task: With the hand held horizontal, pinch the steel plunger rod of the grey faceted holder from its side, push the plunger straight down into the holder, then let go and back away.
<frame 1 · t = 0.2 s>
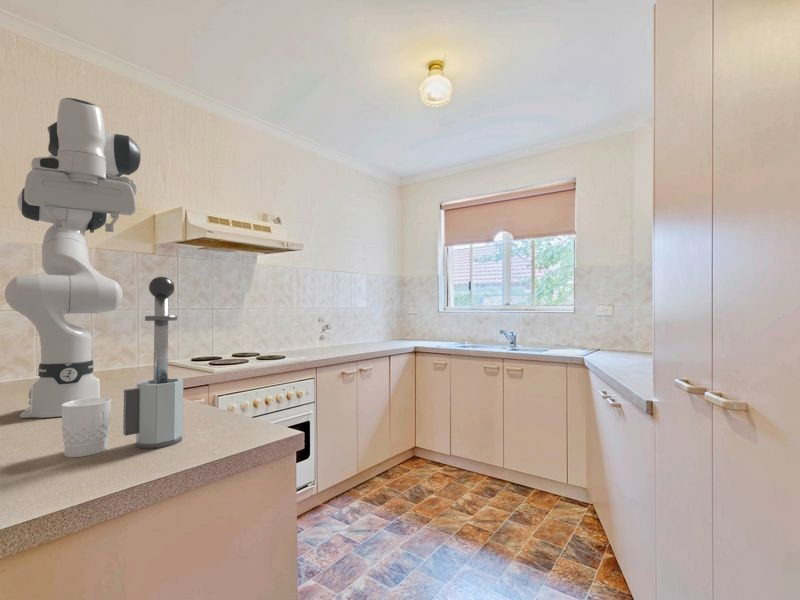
hand: (84, 229, 92), 48 cm above the countertop, tool pointing down, fingers open, 8 cm apart
grey faceted holder: (159, 442, 84), on the countertop
white cup: (86, 452, 79), on the countertop
plunger: (161, 335, 85), point 23 cm above the countertop, slide at 0.0 cm
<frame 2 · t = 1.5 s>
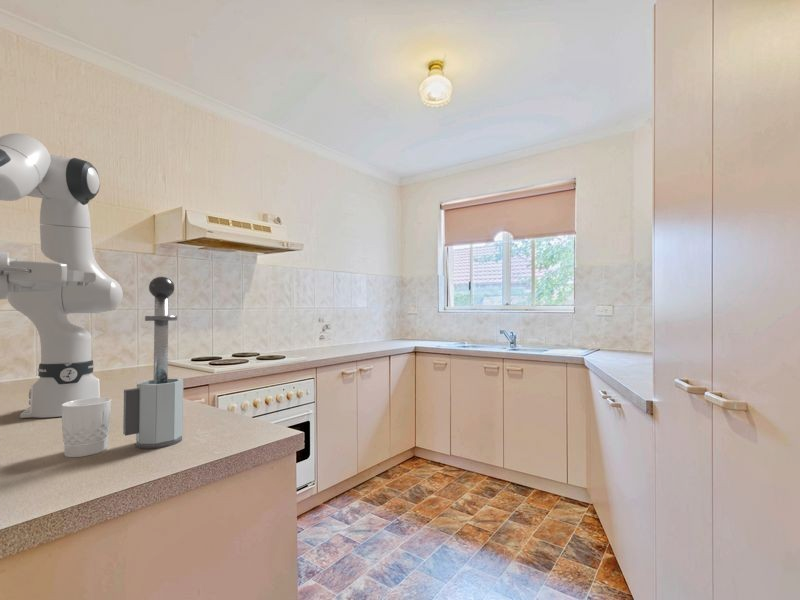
hand: (91, 279, 80), 35 cm above the countertop, tool horizontal, fingers open, 8 cm apart
nothing on the countertop moved.
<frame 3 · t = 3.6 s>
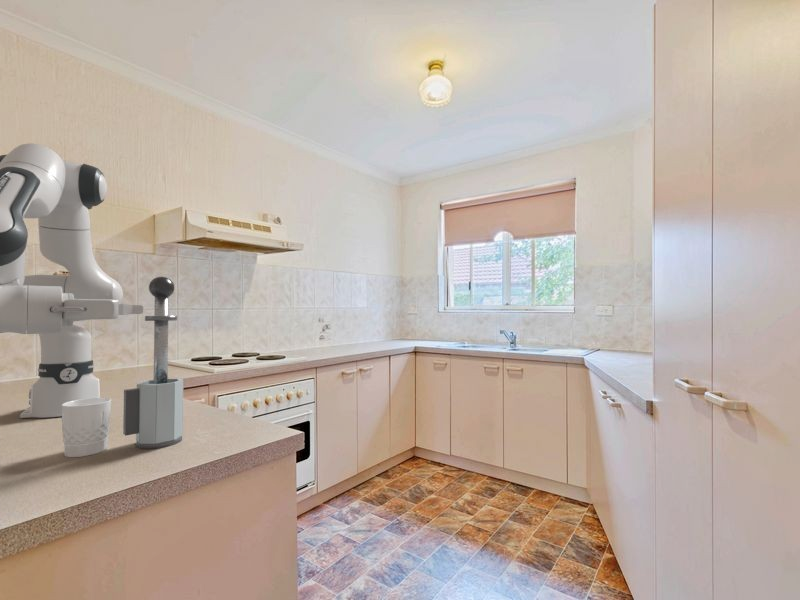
hand: (137, 309, 82), 29 cm above the countertop, tool horizontal, fingers open, 8 cm apart
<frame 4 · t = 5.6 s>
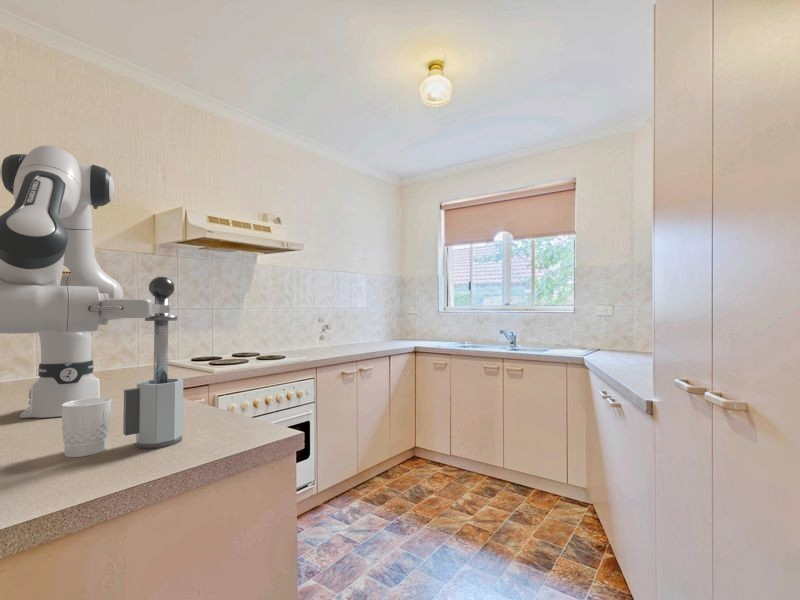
hand: (166, 309, 86), 29 cm above the countertop, tool horizontal, fingers closed on plunger, 3 cm apart
plunger: (161, 335, 85), point 23 cm above the countertop, slide at 0.0 cm, touching gripper
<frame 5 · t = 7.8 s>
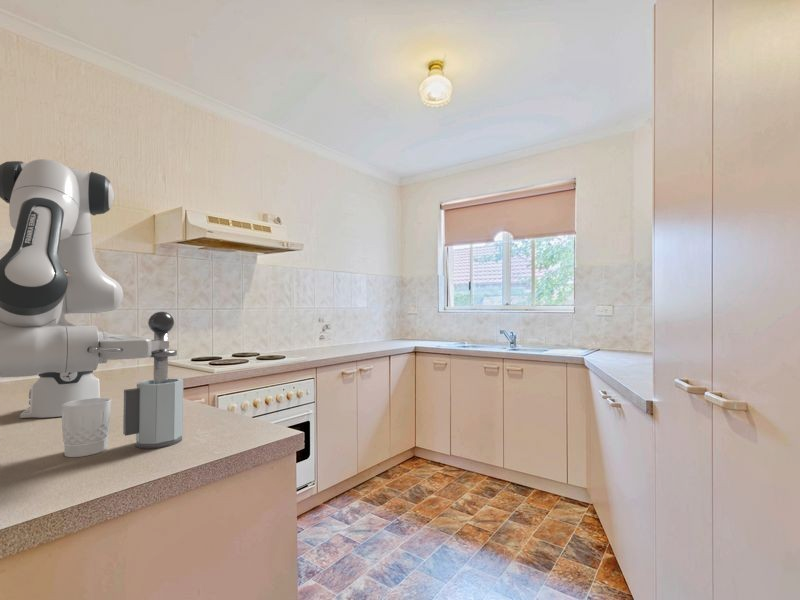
hand: (165, 344, 86), 21 cm above the countertop, tool horizontal, fingers closed on plunger, 3 cm apart
plunger: (160, 371, 85), point 15 cm above the countertop, slide at 7.7 cm, touching gripper
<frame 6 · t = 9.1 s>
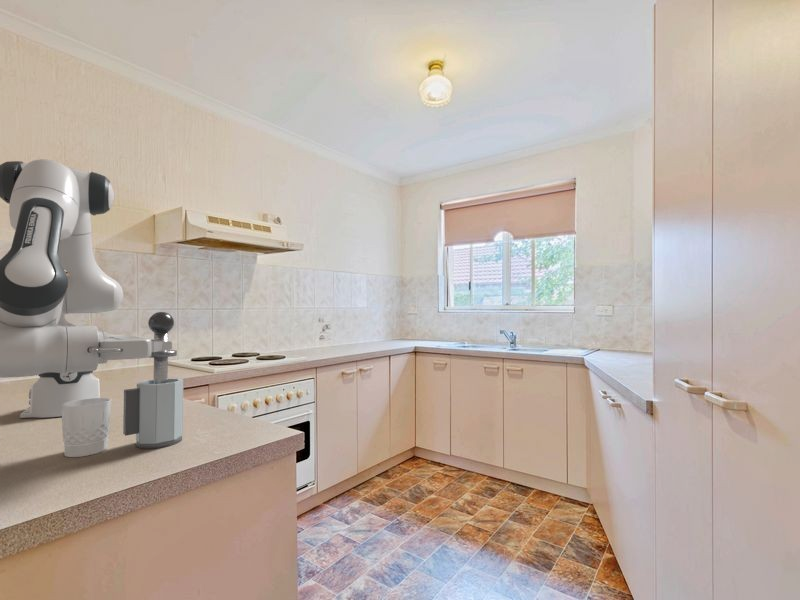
hand: (165, 344, 86), 21 cm above the countertop, tool horizontal, fingers open, 7 cm apart
plunger: (160, 371, 85), point 15 cm above the countertop, slide at 7.7 cm
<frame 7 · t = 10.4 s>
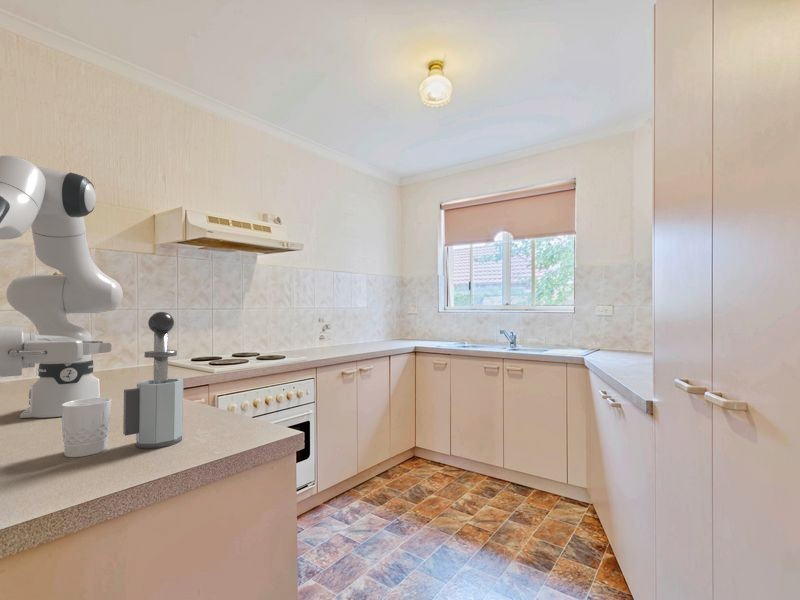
hand: (106, 346, 78), 21 cm above the countertop, tool horizontal, fingers open, 8 cm apart
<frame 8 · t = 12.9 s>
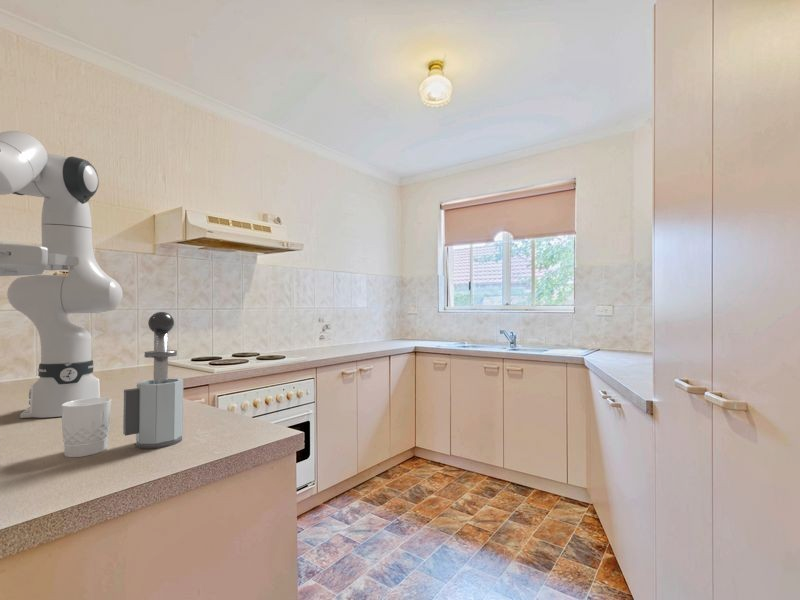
hand: (75, 263, 80), 38 cm above the countertop, tool horizontal, fingers open, 8 cm apart
at the end: plunger slide at 7.7 cm; the gripper is holding nothing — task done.
